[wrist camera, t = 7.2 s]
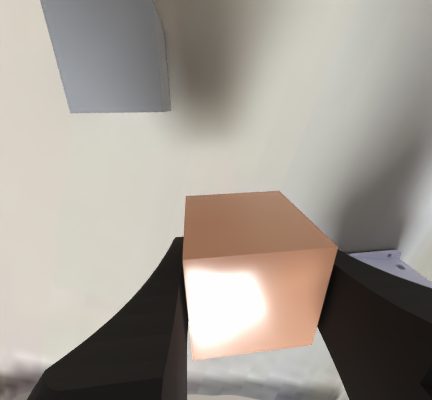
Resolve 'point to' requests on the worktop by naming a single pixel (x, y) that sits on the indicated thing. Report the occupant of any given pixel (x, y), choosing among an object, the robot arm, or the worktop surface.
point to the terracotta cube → (252, 273)
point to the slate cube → (109, 55)
